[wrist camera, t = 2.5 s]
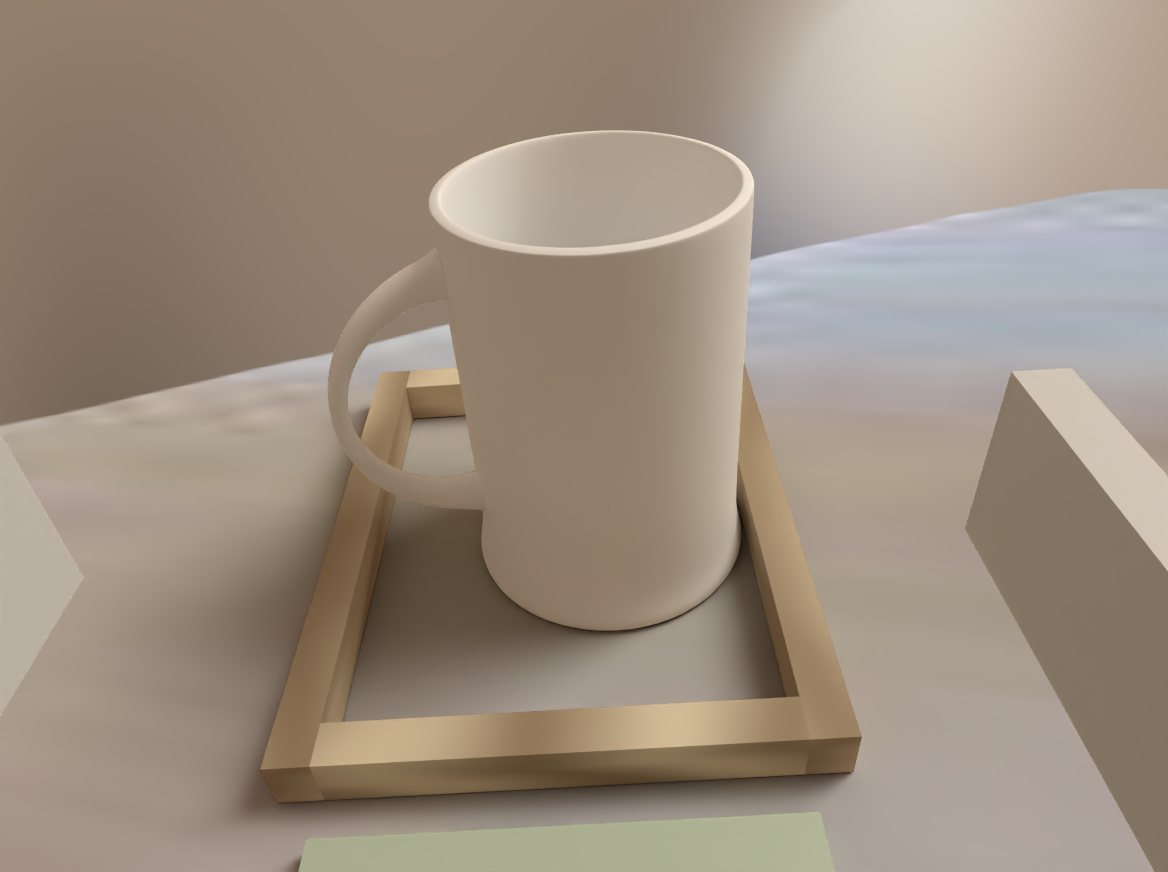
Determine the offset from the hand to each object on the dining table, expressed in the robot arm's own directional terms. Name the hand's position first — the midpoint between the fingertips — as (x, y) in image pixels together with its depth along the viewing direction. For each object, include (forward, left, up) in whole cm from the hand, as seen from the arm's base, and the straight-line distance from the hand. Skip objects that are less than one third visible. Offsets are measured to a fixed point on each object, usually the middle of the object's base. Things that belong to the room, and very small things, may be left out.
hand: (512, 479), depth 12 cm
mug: (0, -11, -13) cm, 17 cm away
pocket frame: (0, -11, -12) cm, 17 cm away
